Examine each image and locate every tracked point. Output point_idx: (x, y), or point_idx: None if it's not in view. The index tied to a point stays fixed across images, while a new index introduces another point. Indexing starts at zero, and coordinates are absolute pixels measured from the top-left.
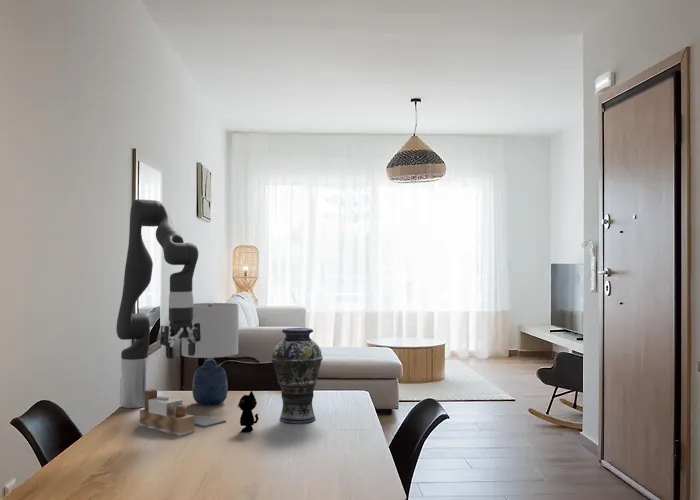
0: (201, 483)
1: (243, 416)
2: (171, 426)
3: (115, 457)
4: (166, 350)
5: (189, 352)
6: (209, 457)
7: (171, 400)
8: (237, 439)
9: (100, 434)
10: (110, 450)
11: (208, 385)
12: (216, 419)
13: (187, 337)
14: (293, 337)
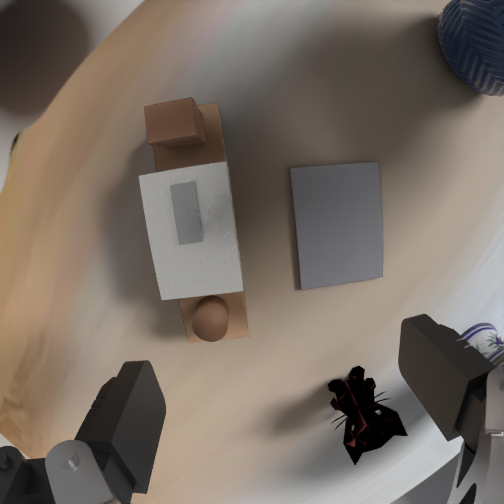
0: None
1: (345, 410)
2: None
3: (32, 359)
4: (88, 429)
5: (414, 344)
6: (170, 462)
7: (203, 266)
8: (281, 421)
9: (46, 152)
10: (29, 312)
11: (488, 65)
12: (372, 248)
13: (462, 494)
14: None
